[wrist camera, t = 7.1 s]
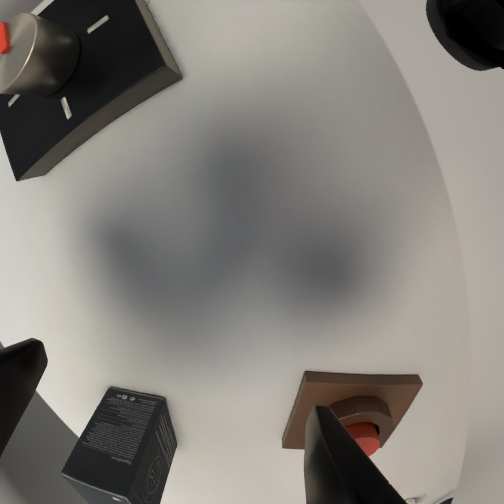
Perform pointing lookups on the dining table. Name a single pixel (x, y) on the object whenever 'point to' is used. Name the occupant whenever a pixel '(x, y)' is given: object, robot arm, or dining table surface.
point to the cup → (410, 501)
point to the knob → (35, 56)
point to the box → (123, 451)
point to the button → (365, 436)
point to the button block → (352, 402)
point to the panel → (88, 82)
